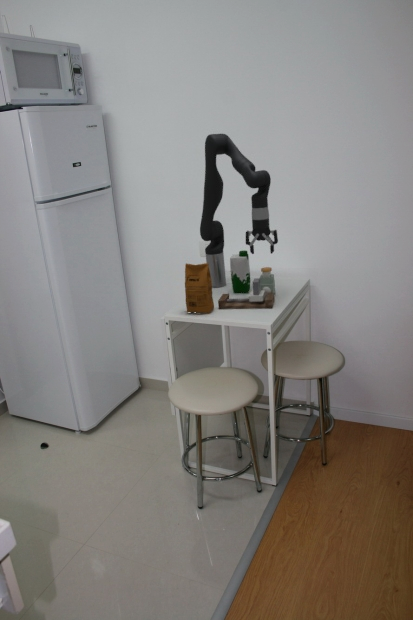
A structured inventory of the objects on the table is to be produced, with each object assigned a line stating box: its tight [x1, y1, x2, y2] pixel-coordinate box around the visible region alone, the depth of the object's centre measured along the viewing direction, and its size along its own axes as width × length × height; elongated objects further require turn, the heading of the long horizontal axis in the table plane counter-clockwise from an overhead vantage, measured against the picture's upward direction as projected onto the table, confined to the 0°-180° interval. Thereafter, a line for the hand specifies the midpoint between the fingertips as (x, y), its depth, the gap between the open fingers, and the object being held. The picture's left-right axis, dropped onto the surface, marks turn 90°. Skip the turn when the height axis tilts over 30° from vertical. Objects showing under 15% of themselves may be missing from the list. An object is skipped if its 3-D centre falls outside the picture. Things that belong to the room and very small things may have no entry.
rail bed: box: [217, 293, 276, 310], centre depth 225 cm, size 24×10×4 cm, turn 77°
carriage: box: [248, 277, 265, 302], centre depth 222 cm, size 6×8×8 cm
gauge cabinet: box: [259, 273, 276, 298], centre depth 233 cm, size 6×8×10 cm
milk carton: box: [229, 250, 251, 295], centre depth 243 cm, size 9×9×20 cm
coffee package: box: [184, 262, 215, 314], centre depth 221 cm, size 10×12×22 cm
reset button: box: [260, 266, 273, 277], centre depth 231 cm, size 5×5×4 cm
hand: (262, 253), depth 226 cm, fingers open, 8 cm apart
